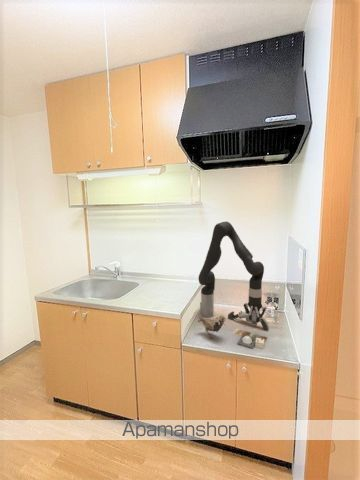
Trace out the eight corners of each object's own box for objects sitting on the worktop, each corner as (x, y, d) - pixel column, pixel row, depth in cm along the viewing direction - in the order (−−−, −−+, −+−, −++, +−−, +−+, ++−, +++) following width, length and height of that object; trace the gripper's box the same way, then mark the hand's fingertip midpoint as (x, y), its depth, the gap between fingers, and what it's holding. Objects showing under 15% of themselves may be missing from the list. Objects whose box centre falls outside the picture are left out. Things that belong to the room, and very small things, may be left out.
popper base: (237, 346, 142) (237, 342, 142) (242, 338, 149) (242, 335, 149) (252, 350, 137) (252, 347, 137) (256, 342, 145) (256, 339, 144)
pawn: (250, 323, 148) (250, 309, 146) (252, 320, 151) (252, 307, 149) (256, 325, 146) (256, 311, 144) (258, 322, 148) (258, 308, 147)
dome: (241, 344, 143) (241, 337, 142) (244, 340, 147) (244, 332, 146) (250, 347, 140) (250, 339, 139) (253, 343, 144) (253, 335, 143)
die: (255, 348, 139) (255, 341, 138) (256, 344, 143) (256, 337, 142) (263, 350, 137) (263, 343, 137) (264, 346, 141) (264, 338, 141)
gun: (268, 332, 153) (260, 310, 155) (232, 334, 171) (225, 314, 172) (271, 329, 158) (263, 307, 159) (236, 331, 175) (228, 311, 176)
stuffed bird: (225, 346, 142) (225, 319, 139) (193, 339, 150) (193, 313, 147) (229, 337, 151) (229, 312, 148) (199, 330, 159) (199, 306, 156)
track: (233, 334, 154) (233, 332, 154) (236, 329, 159) (236, 328, 159) (265, 343, 144) (265, 342, 143) (267, 338, 148) (267, 337, 148)
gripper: (241, 294, 146) (241, 321, 149) (265, 299, 138) (264, 327, 141) (245, 290, 152) (245, 315, 155) (268, 294, 144) (267, 321, 147)
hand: (254, 321), depth 148 cm, fingers closed on pawn, 3 cm apart
